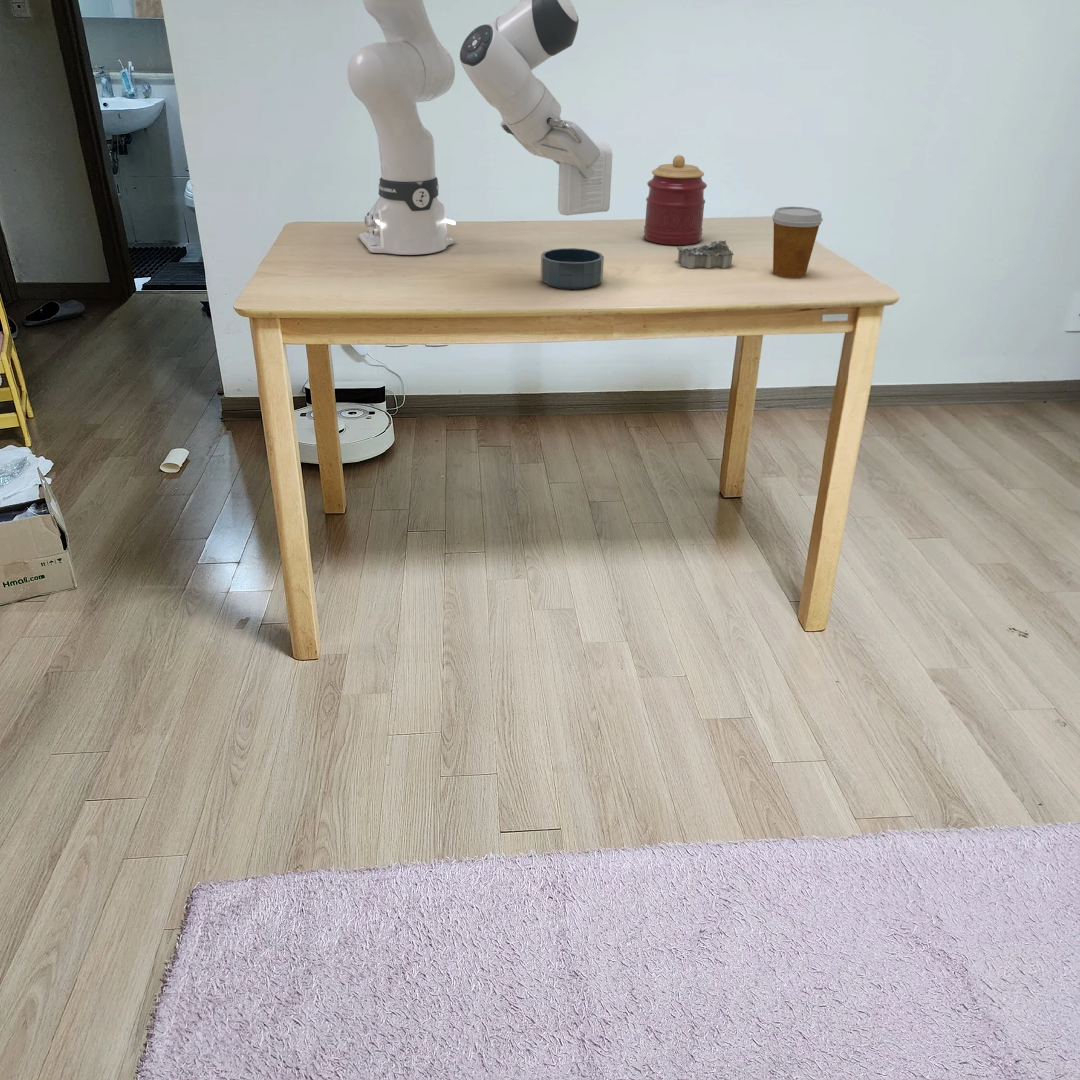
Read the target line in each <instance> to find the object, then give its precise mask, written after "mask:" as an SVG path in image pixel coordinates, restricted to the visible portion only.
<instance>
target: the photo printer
mask: <svg viewBox="0 0 1080 1080" xmlns="http://www.w3.org/2000/svg"><path fill="white" fill-rule="evenodd" d="M591 140H592V141H593V142H594V143H595V144H596V146H597V147H598V148H599V150H600V156H599V158H598V159H597V161H596V162H595V163H594V164H593V166H592V169H593V170H594V174H593V176H592V177H591V178H590V179H587V178H584V177H583V176H582V175H581V174H580V169H579V168H578V167H576V166H574V165H570V164H566V163H563V162H559V165H558V187H557V192H558V193H557V210H558V213H559V214H560V215H562V216H574V215H575V216H576V215H583V214H594V213H604V212H608V211H609V210H610V206H611V190H612V189H611V188H612V169H613V150H612V147H611V145H610V144H608V143H606V142H603V141H600V140H595V139H591Z"/></svg>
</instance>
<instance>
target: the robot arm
mask: <svg viewBox="0 0 1080 1080" xmlns="http://www.w3.org/2000/svg"><path fill="white" fill-rule="evenodd" d="M362 2H363V3H362V4H363V6H364V9H365V10H366V11H367V13H368V15H370V16H371V17H372V18H373V19H374V20H375V21H376V23H378V25H379V28H380V29H381V31H382V33H383V36H384V38H385V41H380V42H379V41H377V42H373V43H371V44H370V43H369V44H368V45H365V46H363V47H361V48H358V49H356V50H355V51H354V52H353V53H352V54H351V56H350V58H349V59H348V65H347V73H346V74H347V81H348V85H349V87H350V90H351V91H352V93H353V94H354V96H355V97H356V98H357V99H358V100H359V101H360V102H361V103H362V104H363V105H364V107H365V109H366V111H367V112H368V114H369V116H370V119H371V120H372V123H373V126H374V129H375V133H376V137H377V144H378V151H379V161H380V175H381V176H380V178H379V180H378V181H379V182H378V196H379V197H378V199H377V200H376V201H375V203H374V204H373V205H372V207H371V208H370V209H369V211H368V212H367V213H366V215H364V225H365V227H366V228H369V229H368V230H369V231H368V230H367V231H364V232H361V233H359V235H358V236H359V240H360V241H361V243H362V244H363V245H364V247H366V249H367V250H368V251H369V252H370V253H373V254H390V255H403V256H414V255H415V256H416V255H417V256H418V255H427V254H428V255H429V254H434V253H438V252H442V251H444V250H445V249H447V247H448V246H450V245H453V244H454V241H453V238H452V237H450V236H448V230H447V229H448V227H447V224H450V225H453V226H456V221H455V220H452V219H448V218H446V211H445V209H446V208H445V205H444V203H442V202H441V201H440V200H439V198H438V196H439V189H440V187H439V180H438V179H439V178H438V177H437V176H436V157H435V156H436V154H435V139H434V136H433V134H432V132H431V131H430V130H428V129H427V128H426V127H425V126H424V124H423V123H422V121H421V118H420V114H419V111H418V106H417V103H425V102H430V101H433V100H436V99H438V98H439V97H441V96H443V95H445V94H446V93H447V92H448V91H450V90H451V88H452V87H453V85H454V81H455V76H456V68H455V63H454V59H453V57H452V54H451V53H450V52H449V51H448V49H446V48H445V46H444V45H443V44H442V43H441V41H440V40H439V39H438V36H437V35H436V32H435V31H434V28H433V26H432V24H431V21H430V19H429V16H428V14H427V13H428V12H427V10H426V7H425V3H424V0H362ZM579 21H580V20H579V16H578V12H577V11H576V8H575V6H574V4H573V3H572V1H571V0H519V1H518V2H517V3H516V4H514V5H513V6H512V7H510V8H509V9H508V10H506V11H504V13H502V14H501V15H500V16H498V17H497V18H495V19H494V20H492V21H491V22H490V23H488V24H487V23H486V24H482V25H479V26H477V27H475V28H474V29H473V30H472V31H471V32H470V33H469V34H468V35H467V36H466V38H465V39H464V41H463V43H462V45H461V48H460V51H459V61H460V64H461V66H462V68H463V70H464V72H465V73H466V75H467V77H468V78H469V80H470V81H471V83H472V84H473V85H474V87H475V88H476V89H477V91H478V92H479V94H480V95H481V96H482V98H484V99H485V101H486V102H487V103H488V104H489V105H490V106H491V107H493V108H494V109H496V110H497V111H498V112H499V115H500V116H501V118H502V121H501V123H500V124H499V125H500V127H501V128H502V130H503V131H504V132H505V133H507V134H510V135H512V137H513V138H514V139H515V140H516V141H517V142H518V143H519V144H520V145H521V146H522V147H523V148H524V149H525V151H527V152H528V153H530V154H531V155H533V156H536V157H541V158H544V159H548V160H552V161H553V162H554V163H555V164H556V165H558V166H559V162H563V163H566V164H570V165H574V166H576V167H578V168H579V169H580V174H581V175H582V176H583V177H584V178H587V179H590V178H591V177H592V176H593V174H594V170H593V169H592V166H593V164H594V163H595V162H596V161H597V159H598V158H599V156H600V150H599V148H598V147H597V146H596V144H595V143H594V142H593V141H592V140H593V139H592V138H591V137H590V136H589V135H588V134H587V133H586V132H585V131H584V130H583V129H582V127H580V125H578V124H576V122H573V121H570V120H565V119H562V118H561V114H562V106H561V104H560V102H559V101H558V100H557V99H556V97H555V96H554V95H553V93H552V92H551V91H550V90H549V88H548V87H547V86H546V85H545V83H544V82H543V81H542V80H540V79H539V78H537V77H536V76H535V75H534V74H533V72H532V71H533V70H535V69H536V68H537V67H539V66H540V65H541V64H543V63H544V62H545V61H547V60H549V59H550V58H551V57H554V56H556V55H558V54H560V53H562V52H564V51H565V50H567V49H568V48H570V47H572V46H573V44H574V42H575V39H576V36H577V32H578V28H579Z"/></svg>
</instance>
